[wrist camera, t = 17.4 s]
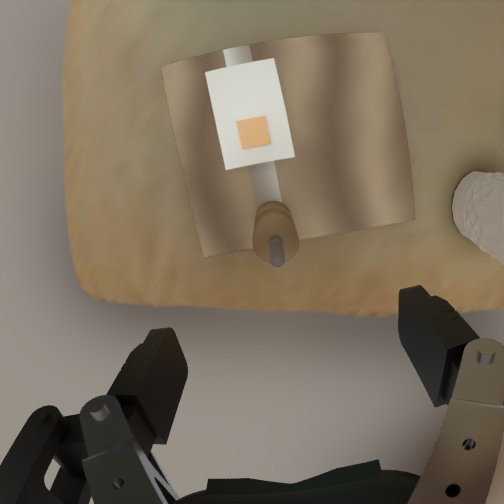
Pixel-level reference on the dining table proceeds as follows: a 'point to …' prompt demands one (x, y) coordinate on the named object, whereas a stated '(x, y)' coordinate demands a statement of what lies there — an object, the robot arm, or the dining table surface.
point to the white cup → (481, 211)
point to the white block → (250, 113)
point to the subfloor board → (299, 141)
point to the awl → (274, 233)
